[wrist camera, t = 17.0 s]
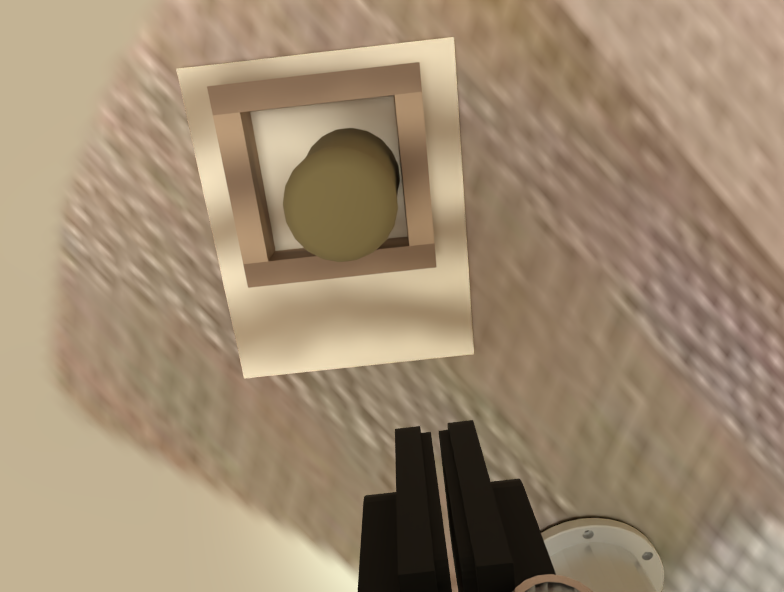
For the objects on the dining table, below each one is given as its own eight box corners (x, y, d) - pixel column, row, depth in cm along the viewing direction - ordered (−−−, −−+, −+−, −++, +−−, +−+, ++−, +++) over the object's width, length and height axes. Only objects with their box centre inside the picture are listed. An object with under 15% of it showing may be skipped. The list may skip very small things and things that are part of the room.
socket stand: (471, 348, 39) (480, 370, 36) (247, 371, 39) (235, 396, 36) (451, 38, 32) (459, 31, 29) (182, 70, 33) (159, 66, 29)
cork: (363, 106, 32) (355, 108, 22) (418, 192, 34) (435, 231, 24) (281, 165, 33) (237, 192, 23) (339, 245, 35) (322, 304, 25)
